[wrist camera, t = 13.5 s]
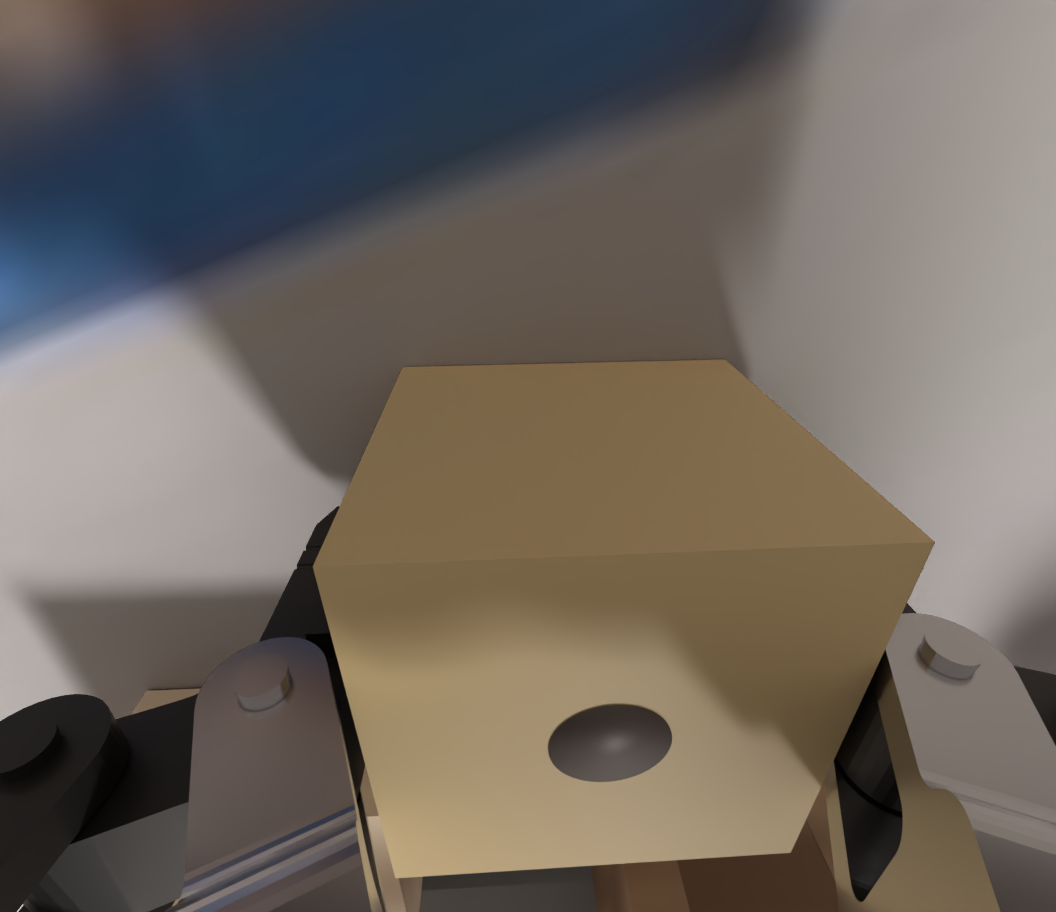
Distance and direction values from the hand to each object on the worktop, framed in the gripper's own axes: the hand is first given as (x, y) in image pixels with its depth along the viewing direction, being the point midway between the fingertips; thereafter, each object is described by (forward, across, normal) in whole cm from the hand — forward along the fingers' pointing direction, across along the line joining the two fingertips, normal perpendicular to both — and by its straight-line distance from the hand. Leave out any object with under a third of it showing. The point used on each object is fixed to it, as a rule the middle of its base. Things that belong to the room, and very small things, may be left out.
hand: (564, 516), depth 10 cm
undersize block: (+1, 0, 0) cm, 1 cm away
